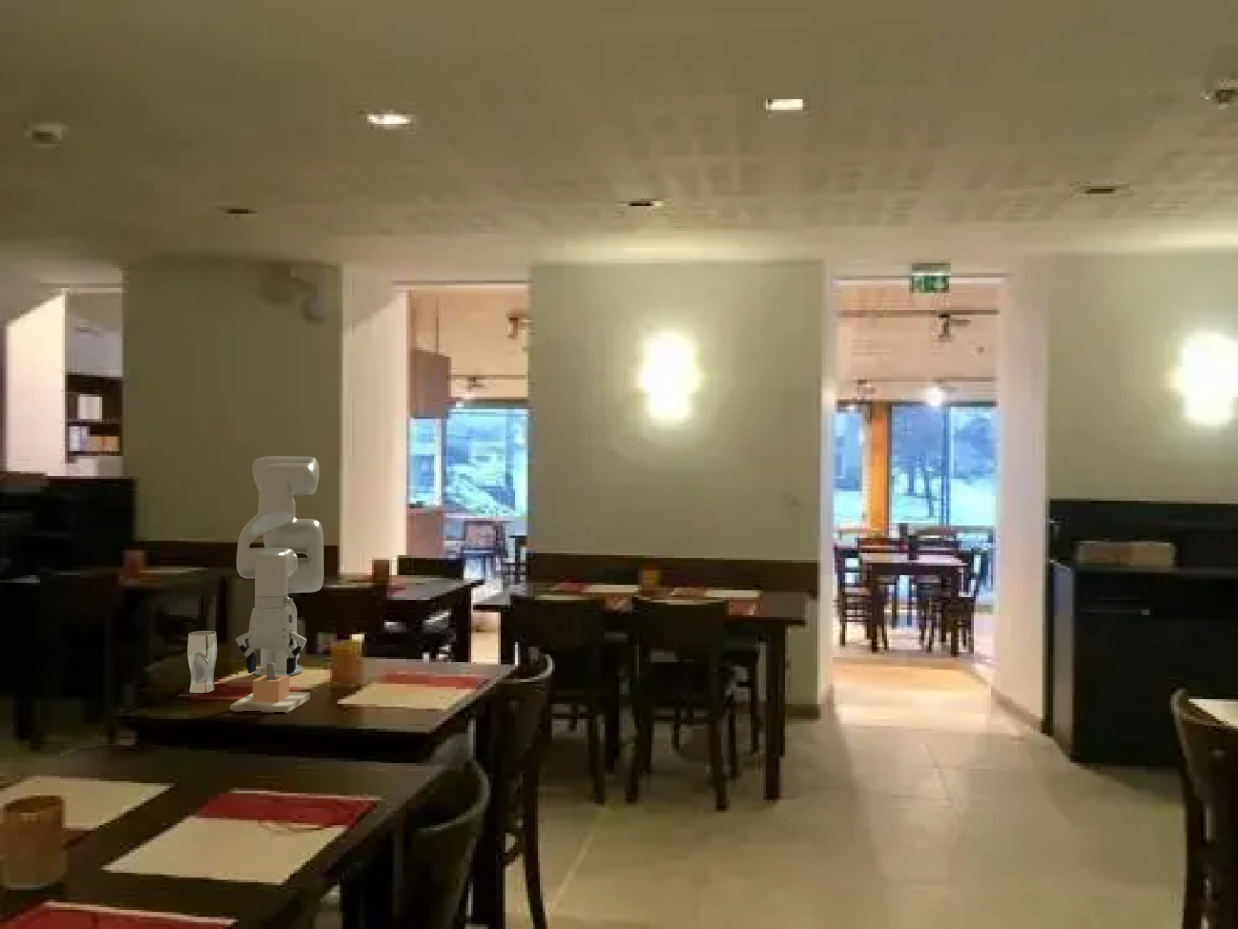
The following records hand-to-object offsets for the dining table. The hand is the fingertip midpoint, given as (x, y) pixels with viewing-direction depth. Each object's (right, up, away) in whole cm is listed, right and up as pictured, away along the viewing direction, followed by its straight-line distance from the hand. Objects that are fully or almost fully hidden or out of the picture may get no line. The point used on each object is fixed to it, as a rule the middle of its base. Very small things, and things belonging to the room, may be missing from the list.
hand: (271, 672), depth 255 cm
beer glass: (-22, -8, +13) cm, 27 cm away
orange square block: (0, -6, 0) cm, 6 cm away
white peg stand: (0, -8, 0) cm, 8 cm away
